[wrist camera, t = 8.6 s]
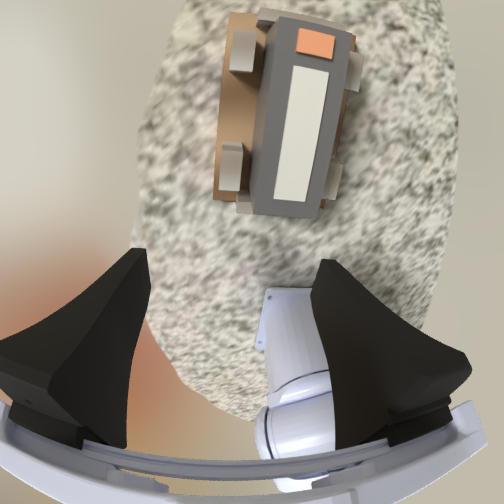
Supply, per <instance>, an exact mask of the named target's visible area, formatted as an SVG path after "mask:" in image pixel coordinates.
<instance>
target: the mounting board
mask: <svg viewBox="0 0 504 504" xmlns="http://www.w3.org/2000/svg"><path fill="white" fill-rule="evenodd" d="M279 16H282V17H288V18H293V19H298V20H303V21H308V22H312V23H316V24H320V25H324V26H328V27H332V28H335V29H339V30H342V31H344V29H345V25H342V24H338V23H335V22H331V21H327V20H324V19H320V18H316V17H311V16H307V15H302V14H297V13H292V12H287V11H281V10H274V9H267V8H260V9H259V12H258V14H248V13H235V12H230V18H229V25H228V33H227V40H226V48H225V57H224V66H223V75H222V84H221V94H220V105H219V116H218V128H217V141H216V155H215V171H214V188H213V200H224V201H236V210H237V213H244V214H253V211H252V204H251V198H250V192H249V185H248V173H249V165H250V156H251V148H252V139H253V131H254V123H255V115H256V107H257V99H258V91H259V83H260V75H261V68H262V60H263V53H264V45H265V38H266V34H267V32H268V31H269V29H270V28H271V27H272V25H273V24H274V23H275V21H276V20H277V19H278V17H279ZM355 41H356V36H354V35H352V39H351V47H350V54H349V61H348V68H347V74H346V80H345V86H344V92H343V98H342V104H341V109H340V114H339V120H338V125H337V130H336V135H335V140H334V145H333V150H332V154H331V159H330V164H329V168H328V173H327V177H326V181H325V186H324V190H323V194H322V198H321V203H320V207H319V208H324V204H325V200H326V199H329V200H335V199H336V195H337V191H338V187H339V183H340V179H341V175H342V170H343V166H344V164H342V163H341V162H340V161H339V160H338V159H336V158H335V156H336V151H337V147H338V142H339V137H340V132H341V127H342V122H343V116H344V111H345V106H346V100H347V94H348V91H355V92H359V87H360V81H361V74H362V68H363V61H364V55H362V54H359V53H356V52H354V48H355Z"/></svg>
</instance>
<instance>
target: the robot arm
mask: <svg viewBox="0 0 504 504" xmlns="http://www.w3.org/2000/svg"><path fill="white" fill-rule="evenodd" d="M150 291H151V282H150V276H149V269H148V261H147V253H146V249H144V248H131V249H130V250H129V251H128V252H127V253H126V254H125V255H123V256H122V257H121V258H120V259H119V260H118V261H117V262H116V263H115V264H114V265H113V266H112V267H111V268H109V269H108V270H107V271H106V272H105V273H104V274H103V275H102V276H101V277H100V278H99V279H98V280H96V281H95V282H94V283H93V284H92V285H91V286H89V287H88V288H87V289H86V290H85V291H83V292H82V293H81V294H80V295H78V296H77V297H76V298H75V299H73V300H72V301H70V302H69V303H68V304H66V305H65V306H64V307H62V308H60V309H59V310H58V311H56V312H54V313H53V314H51V315H50V316H48V317H47V318H45V319H43V320H42V321H40V322H38V323H36V324H35V325H33V326H31V327H29V328H27V329H25V330H23V331H21V332H19V333H16V334H14V335H12V336H9V337H7V338H5V339H3V340H0V389H1V390H3V392H5V393H6V394H7V395H8V396H9V397H10V398H11V399H12V400H13V402H12V406H10V405H8V404H7V403H5V402H3V401H1V400H0V466H1V467H2V468H4V469H5V470H6V471H8V472H9V473H11V474H13V475H14V476H15V477H17V478H19V479H20V480H22V481H23V482H25V483H27V484H28V485H30V486H32V487H33V488H35V489H37V490H39V491H40V492H42V493H44V494H46V495H48V496H50V497H51V498H54V499H56V500H57V501H59V502H61V503H64V504H396V503H398V502H399V501H402V500H403V499H405V498H407V497H409V496H411V495H413V494H415V493H417V492H418V491H420V490H422V489H423V488H425V487H427V486H429V485H430V484H432V483H434V482H435V481H437V480H438V479H440V478H441V477H443V476H444V475H446V474H447V473H449V472H450V471H452V470H453V469H454V468H456V467H457V466H459V465H460V464H461V463H463V462H464V461H466V460H467V459H468V458H470V457H471V456H473V455H474V454H475V453H477V452H478V451H479V450H481V449H482V448H484V447H485V446H486V445H487V444H488V442H487V439H486V436H485V433H484V430H483V428H482V425H481V422H480V420H479V417H478V415H477V412H476V410H475V407H474V405H473V403H472V400H469V401H467V402H464V403H462V404H461V405H458V406H456V407H454V408H453V409H451V410H450V409H449V407H448V405H449V404H450V403H451V398H450V396H449V395H450V394H451V393H452V392H454V391H455V390H456V389H457V388H458V387H459V386H460V385H461V384H463V383H464V382H465V380H467V378H468V377H469V376H470V374H471V372H472V367H471V365H470V363H469V361H468V359H467V357H466V355H465V354H464V353H463V352H461V351H459V350H456V349H454V348H452V347H449V346H447V345H445V344H443V343H441V342H439V341H437V340H435V339H433V338H431V337H430V336H428V335H426V334H424V333H422V332H421V331H420V330H418V329H416V328H415V327H413V326H412V325H410V324H409V323H407V322H406V321H404V320H403V319H402V318H400V317H399V316H398V315H396V314H395V313H394V312H392V311H391V310H390V309H389V308H387V307H386V306H385V305H384V304H383V303H382V302H380V301H379V300H378V299H377V298H376V297H375V296H374V295H373V294H371V293H370V292H369V291H368V290H367V289H366V288H365V287H364V286H363V285H362V284H361V283H360V282H359V281H358V280H357V279H355V278H354V277H353V276H352V275H351V274H350V273H349V272H348V271H347V270H346V269H345V268H344V267H343V266H342V265H341V264H339V263H338V262H337V261H336V260H331V259H322V260H321V263H320V266H319V269H318V272H317V275H316V278H315V281H314V284H313V287H312V288H280V287H270V288H268V289H266V291H265V297H264V302H263V307H262V312H261V317H260V322H259V327H258V332H257V337H256V342H255V349H257V350H264V355H265V364H266V372H267V380H268V389H269V393H270V394H268V395H267V398H268V406H265V407H263V408H262V409H261V410H260V412H259V415H258V416H257V418H256V421H255V441H256V446H257V450H258V452H259V455H260V458H261V459H262V460H241V461H223V460H198V459H185V458H175V457H166V456H159V455H152V454H145V453H140V452H134V451H129V450H124V449H125V448H126V447H127V440H126V419H127V399H128V389H129V379H130V372H131V365H132V359H133V355H134V350H135V347H136V343H137V340H138V336H139V333H140V330H141V327H142V324H143V320H144V317H145V314H146V310H147V307H148V302H149V296H150ZM269 296H271V297H269ZM119 468H120V469H126V470H130V471H135V472H140V473H145V474H151V475H158V476H165V477H173V478H182V479H194V480H213V481H216V480H217V481H244V480H246V481H247V480H265V479H273V480H274V482H275V484H276V485H277V488H278V489H279V490H280V491H282V492H284V493H280V494H269V495H255V496H196V495H182V494H171V493H169V486H168V485H166V484H163V483H159V482H157V481H156V480H155V479H154V478H149V477H144V476H140V475H136V474H132V473H129V472H125V471H121V470H120V469H119Z"/></svg>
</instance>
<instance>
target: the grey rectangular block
mask: <svg viewBox="0 0 504 504" xmlns="http://www.w3.org/2000/svg"><path fill="white" fill-rule="evenodd" d="M351 39H352V33H349V32H345V31H342V30H339V29H335V28H332V27H328V26H324V25H320V24H316V23H312V22H308V21H303V20H298V19H293V18H288V17H282V16H279V17H278V19H277V20H276V21H275V23H274V24H273V25H272V27H271V28H270V29H269V31H268V32H267V34H266V38H265V45H264V53H263V60H262V68H261V75H260V83H259V91H258V99H257V107H256V115H255V123H254V131H253V139H252V148H251V156H250V165H249V173H248V185H249V192H250V198H251V204H252V211H253V214H258V215H271V216H284V217H296V218H308V219H317V215H318V211H319V207H320V203H321V198H322V194H323V190H324V186H325V181H326V177H327V173H328V168H329V164H330V159H331V154H332V150H333V145H334V140H335V135H336V130H337V125H338V120H339V114H340V109H341V104H342V98H343V92H344V86H345V80H346V74H347V68H348V61H349V54H350V47H351Z"/></svg>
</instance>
